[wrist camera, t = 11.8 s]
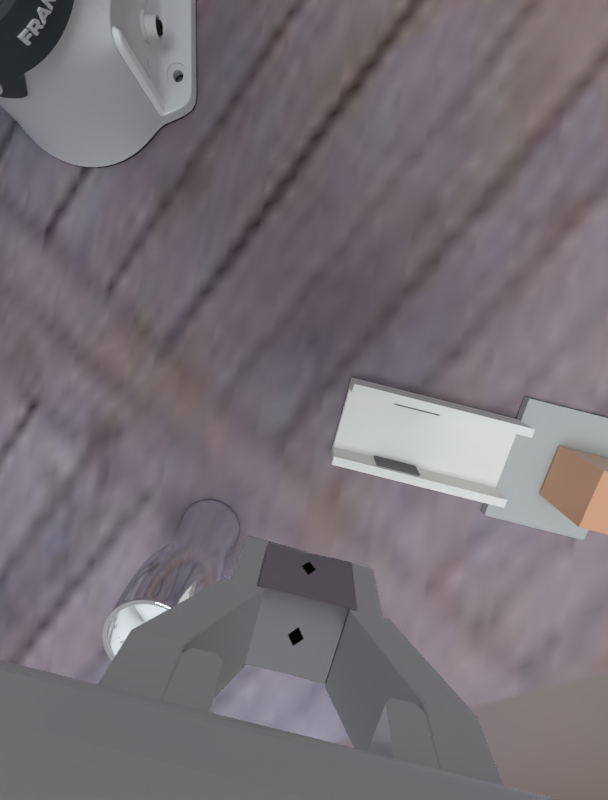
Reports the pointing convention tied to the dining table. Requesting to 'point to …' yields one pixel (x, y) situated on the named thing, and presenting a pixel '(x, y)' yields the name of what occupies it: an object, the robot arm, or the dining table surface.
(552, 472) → the block
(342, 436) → the chute
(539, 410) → the pad
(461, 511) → the dining table surface
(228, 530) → the beer glass
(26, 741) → the robot arm
